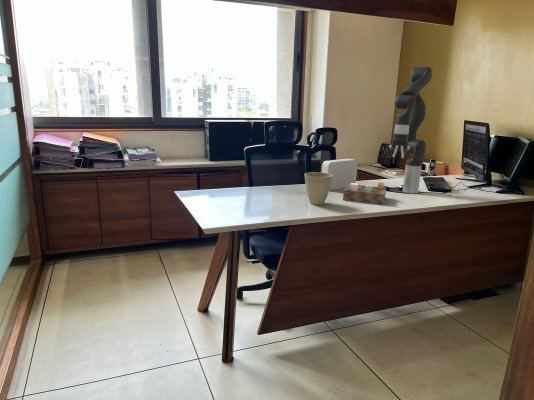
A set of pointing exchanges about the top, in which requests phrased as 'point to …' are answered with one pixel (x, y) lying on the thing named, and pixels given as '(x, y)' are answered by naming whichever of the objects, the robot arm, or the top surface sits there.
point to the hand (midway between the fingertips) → (397, 163)
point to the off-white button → (353, 186)
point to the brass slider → (380, 185)
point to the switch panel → (365, 195)
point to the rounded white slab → (341, 172)
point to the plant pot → (318, 186)
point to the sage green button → (368, 188)
